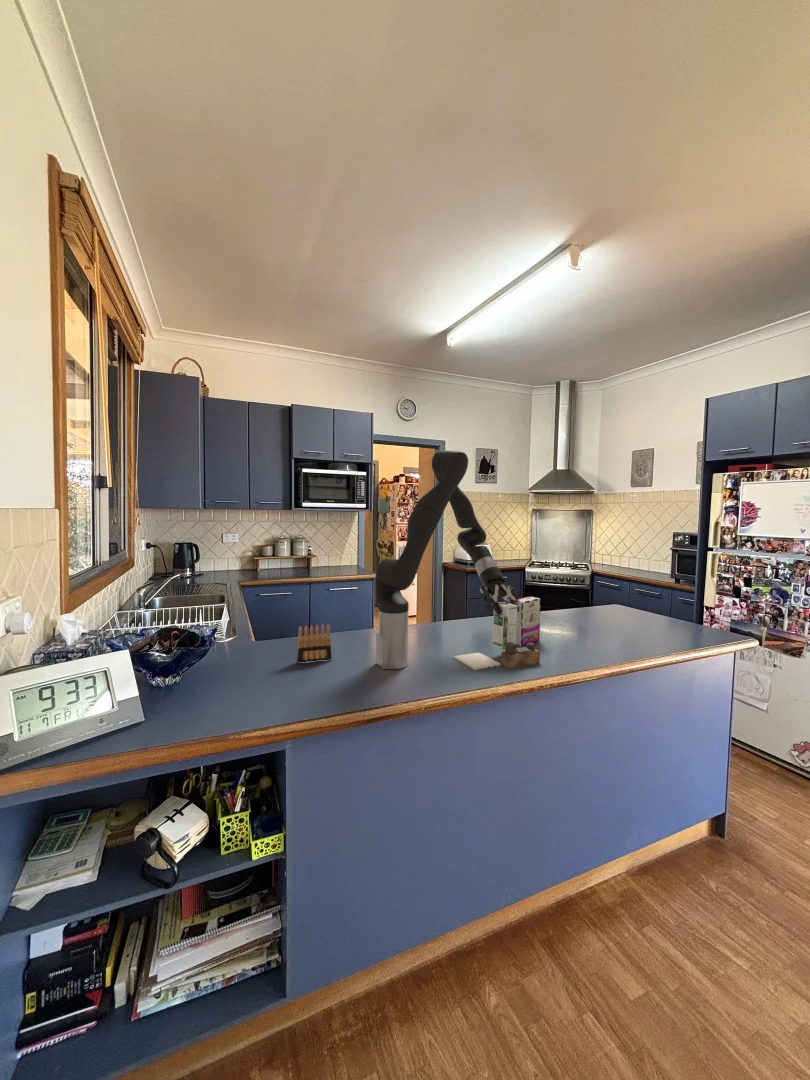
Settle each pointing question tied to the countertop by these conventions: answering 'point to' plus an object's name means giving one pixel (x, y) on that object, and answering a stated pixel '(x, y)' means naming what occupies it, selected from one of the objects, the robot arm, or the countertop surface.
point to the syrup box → (504, 625)
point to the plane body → (520, 655)
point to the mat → (477, 661)
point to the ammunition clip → (314, 644)
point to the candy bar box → (528, 621)
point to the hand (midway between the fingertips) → (508, 612)
